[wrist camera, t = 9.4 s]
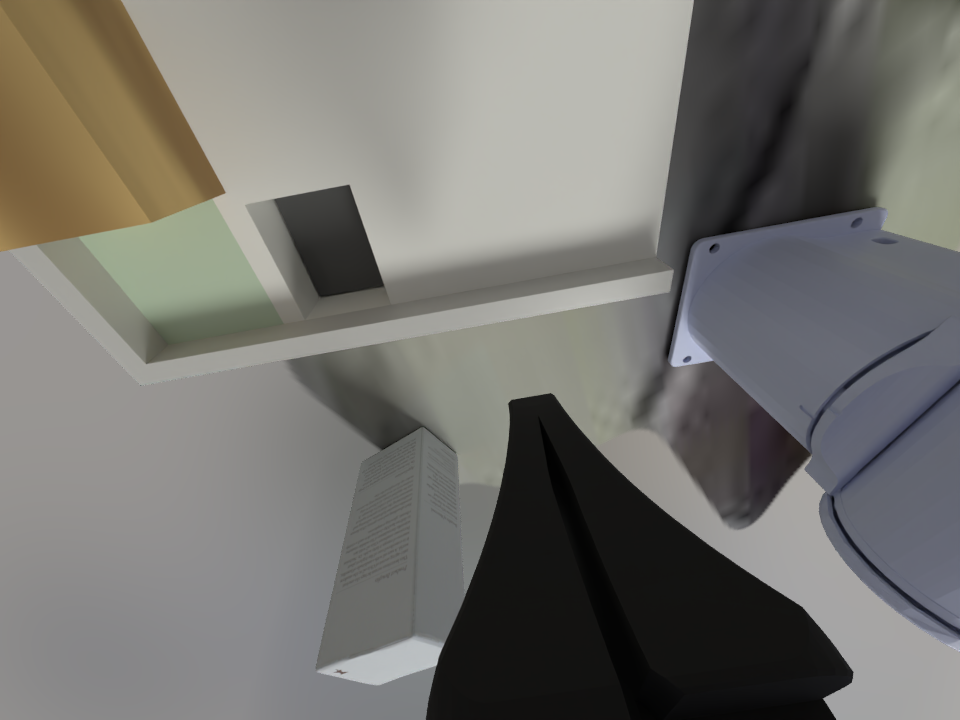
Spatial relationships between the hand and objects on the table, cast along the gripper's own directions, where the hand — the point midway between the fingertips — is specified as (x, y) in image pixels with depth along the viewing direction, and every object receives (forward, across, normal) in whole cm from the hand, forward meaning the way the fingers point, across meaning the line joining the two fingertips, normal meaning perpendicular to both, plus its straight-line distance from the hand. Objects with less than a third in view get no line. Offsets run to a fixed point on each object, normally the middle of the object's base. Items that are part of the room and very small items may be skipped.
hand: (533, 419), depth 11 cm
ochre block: (+7, +12, -10) cm, 17 cm away
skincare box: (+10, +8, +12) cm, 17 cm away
